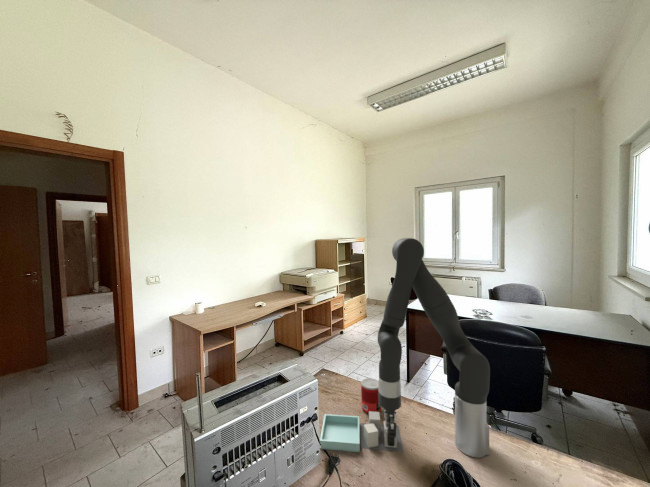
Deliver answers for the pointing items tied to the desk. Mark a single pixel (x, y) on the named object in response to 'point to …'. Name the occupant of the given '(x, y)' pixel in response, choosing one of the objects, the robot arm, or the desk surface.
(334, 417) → the bin
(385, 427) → the stone
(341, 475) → the desk surface
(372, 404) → the canned food
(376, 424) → the stone
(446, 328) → the robot arm
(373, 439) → the stone
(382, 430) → the mat
